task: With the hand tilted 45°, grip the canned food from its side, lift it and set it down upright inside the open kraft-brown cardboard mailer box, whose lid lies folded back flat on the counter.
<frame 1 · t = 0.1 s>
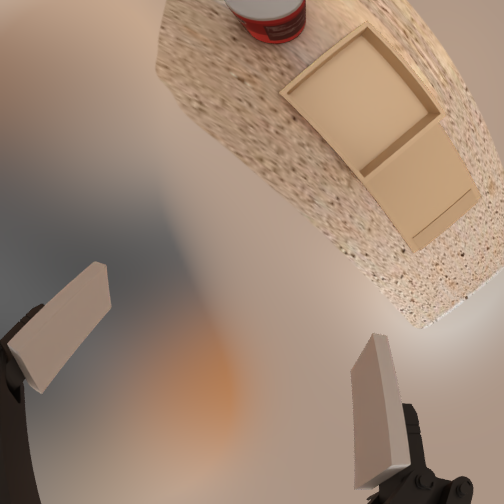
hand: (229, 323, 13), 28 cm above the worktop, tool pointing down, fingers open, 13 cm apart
canned food: (274, 20, 28), on the worktop
mailer box: (361, 101, 31), on the worktop
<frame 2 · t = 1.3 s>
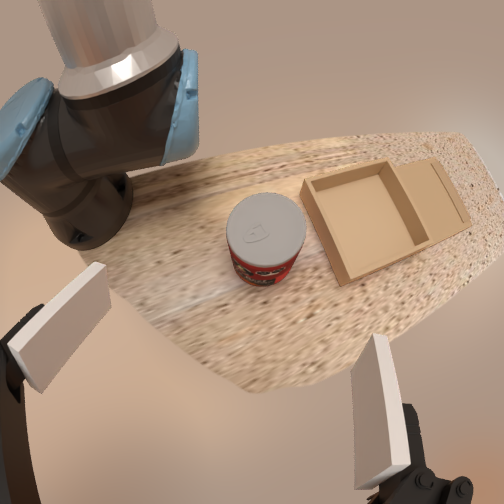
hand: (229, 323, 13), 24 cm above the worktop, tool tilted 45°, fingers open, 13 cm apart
canned food: (262, 259, 39), on the worktop
mailer box: (362, 223, 40), on the worktop
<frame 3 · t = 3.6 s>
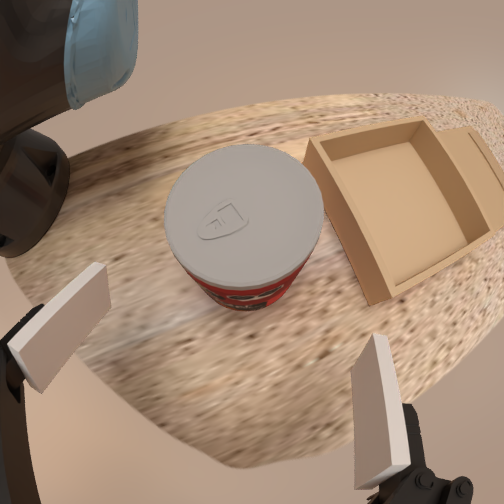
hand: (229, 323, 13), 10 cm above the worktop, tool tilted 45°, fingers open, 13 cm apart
canned food: (247, 266, 24), on the worktop
mailer box: (395, 208, 26), on the worktop
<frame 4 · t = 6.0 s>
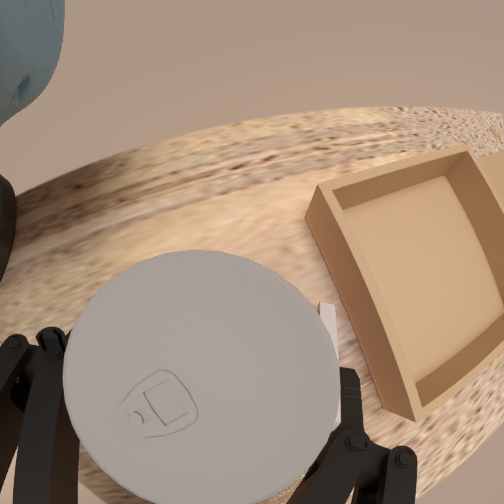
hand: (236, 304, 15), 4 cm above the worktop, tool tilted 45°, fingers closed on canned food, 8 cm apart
canned food: (225, 364, 17), on the worktop, touching gripper
mailer box: (426, 273, 19), on the worktop
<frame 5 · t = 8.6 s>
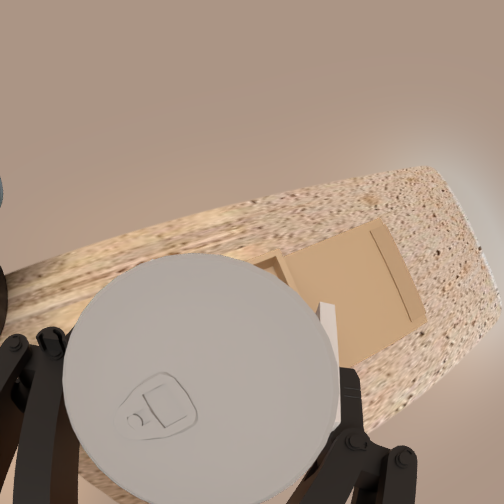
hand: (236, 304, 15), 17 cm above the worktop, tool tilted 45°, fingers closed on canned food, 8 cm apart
canned food: (225, 365, 17), point 13 cm above the worktop, touching gripper
mailer box: (239, 345, 30), on the worktop
when the fingers open (6 cm above the worktop, at t = 11.2 s): canned food drops 1 cm, resting on mailer box.
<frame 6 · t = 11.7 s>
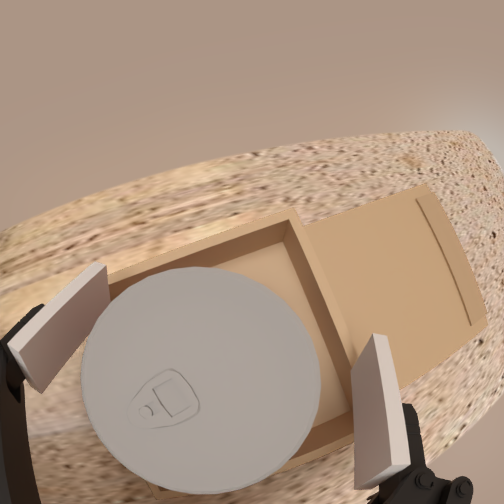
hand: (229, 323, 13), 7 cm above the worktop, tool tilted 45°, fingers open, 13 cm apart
canned food: (224, 363, 18), resting on mailer box
mailer box: (228, 362, 19), on the worktop
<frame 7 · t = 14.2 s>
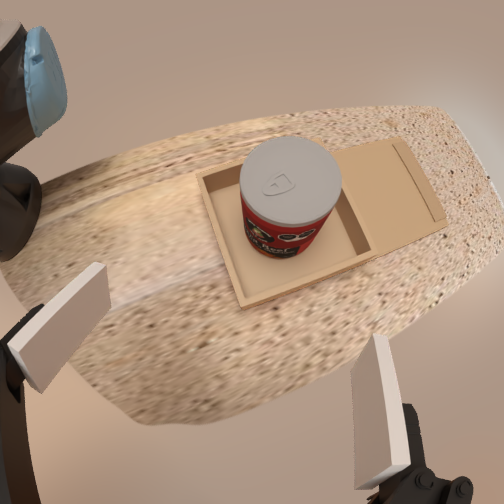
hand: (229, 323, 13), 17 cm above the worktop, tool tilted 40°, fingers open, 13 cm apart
canned food: (280, 226, 32), resting on mailer box
mailer box: (282, 226, 32), on the worktop
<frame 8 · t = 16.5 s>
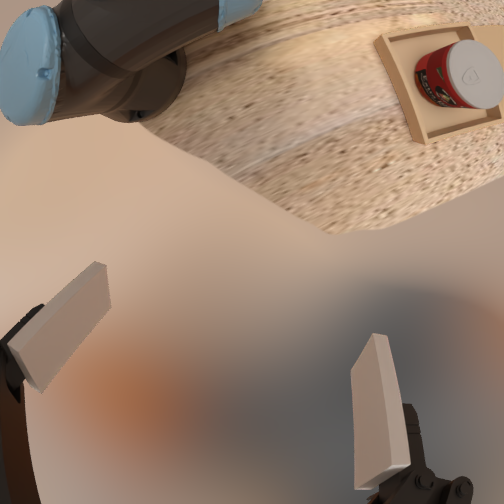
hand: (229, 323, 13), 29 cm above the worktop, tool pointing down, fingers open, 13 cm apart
canned food: (437, 80, 27), resting on mailer box
mailer box: (438, 80, 28), on the worktop
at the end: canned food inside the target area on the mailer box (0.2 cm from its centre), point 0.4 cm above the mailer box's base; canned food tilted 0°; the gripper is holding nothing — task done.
